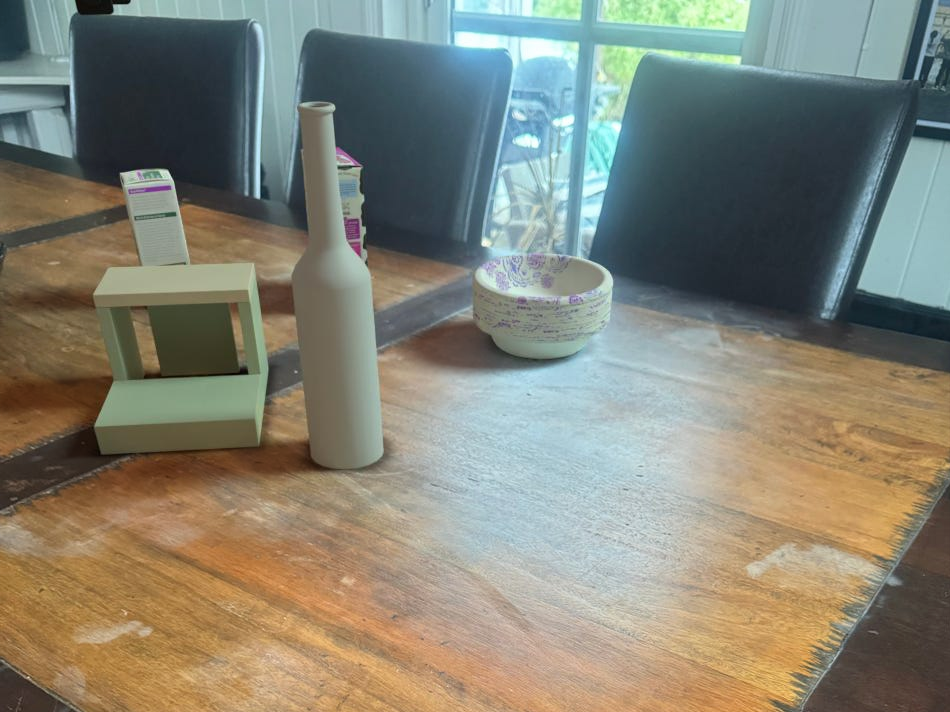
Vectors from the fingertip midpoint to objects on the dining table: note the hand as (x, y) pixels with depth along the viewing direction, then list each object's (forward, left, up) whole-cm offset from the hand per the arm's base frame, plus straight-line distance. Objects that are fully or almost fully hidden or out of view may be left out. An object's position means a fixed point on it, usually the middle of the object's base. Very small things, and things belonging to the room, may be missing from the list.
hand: (106, 9), depth 91 cm
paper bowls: (+42, -10, -31) cm, 53 cm away
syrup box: (-1, +9, -31) cm, 32 cm away
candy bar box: (+20, +7, -31) cm, 38 cm away
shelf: (+5, -23, -31) cm, 39 cm away
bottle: (+20, -34, -31) cm, 51 cm away
